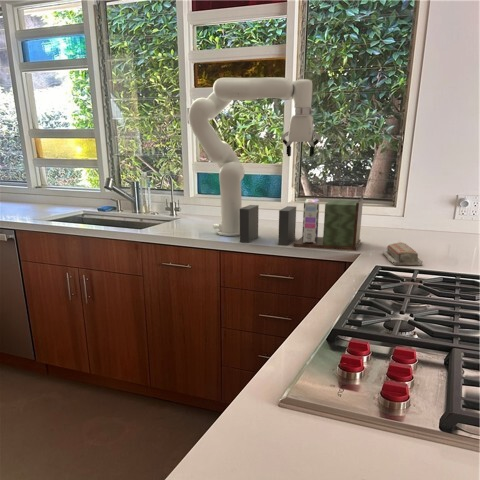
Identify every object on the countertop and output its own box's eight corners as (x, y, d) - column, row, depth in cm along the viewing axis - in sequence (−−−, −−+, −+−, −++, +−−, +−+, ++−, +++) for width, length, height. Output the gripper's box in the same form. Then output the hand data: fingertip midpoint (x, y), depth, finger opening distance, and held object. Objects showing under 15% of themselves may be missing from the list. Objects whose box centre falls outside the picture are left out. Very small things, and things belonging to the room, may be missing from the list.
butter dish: (424, 252, 157) (394, 252, 157) (422, 266, 158) (393, 265, 159) (410, 241, 173) (383, 241, 174) (408, 254, 175) (381, 253, 176)
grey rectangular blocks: (239, 242, 198) (239, 208, 193) (249, 236, 210) (249, 204, 205) (287, 245, 192) (288, 210, 187) (295, 238, 204) (296, 206, 199)
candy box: (316, 243, 188) (318, 202, 182) (301, 243, 189) (303, 202, 183) (317, 237, 201) (320, 198, 195) (304, 237, 202) (306, 198, 196)
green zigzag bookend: (293, 246, 189) (295, 200, 183) (302, 238, 204) (304, 196, 198) (356, 250, 182) (360, 203, 175) (360, 242, 197) (364, 198, 190)
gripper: (324, 112, 193) (321, 156, 199) (284, 113, 199) (282, 156, 205) (320, 111, 187) (318, 156, 193) (279, 112, 192) (278, 156, 198)
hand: (300, 156), depth 199 cm, fingers open, 9 cm apart
